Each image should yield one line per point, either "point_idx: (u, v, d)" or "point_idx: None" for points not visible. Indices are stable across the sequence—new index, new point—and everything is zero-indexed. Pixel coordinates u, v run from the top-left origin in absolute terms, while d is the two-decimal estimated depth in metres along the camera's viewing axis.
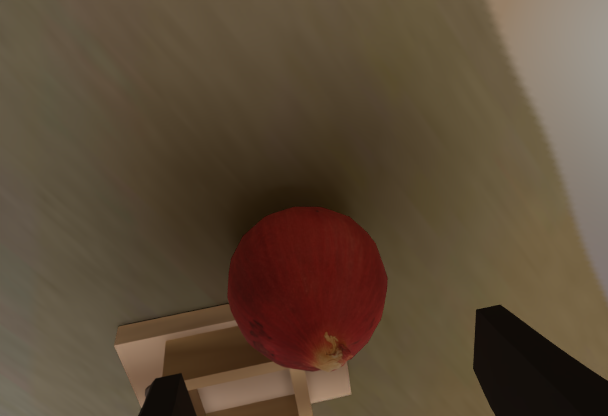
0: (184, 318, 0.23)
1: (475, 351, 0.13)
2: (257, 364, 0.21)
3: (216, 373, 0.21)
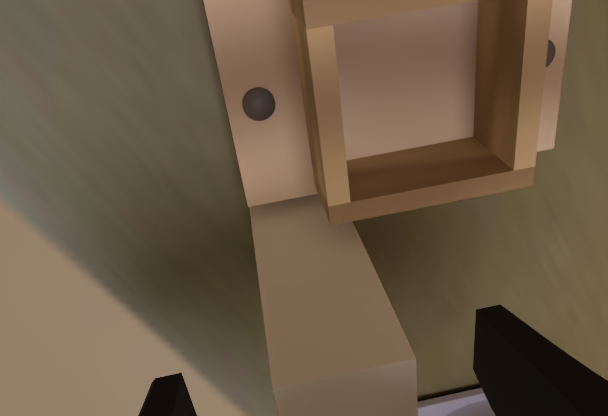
0: None
1: (475, 351, 0.13)
2: None
3: None
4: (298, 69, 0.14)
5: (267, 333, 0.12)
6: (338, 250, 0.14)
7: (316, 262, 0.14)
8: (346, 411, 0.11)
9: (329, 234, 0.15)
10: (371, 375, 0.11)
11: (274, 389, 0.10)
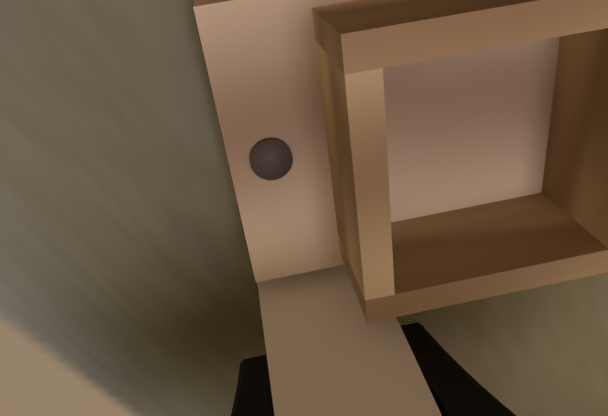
0: None
1: None
2: None
3: (484, 10, 0.08)
4: (323, 114, 0.11)
5: None
6: (377, 353, 0.11)
7: (348, 371, 0.11)
8: None
9: (361, 325, 0.12)
10: None
11: None
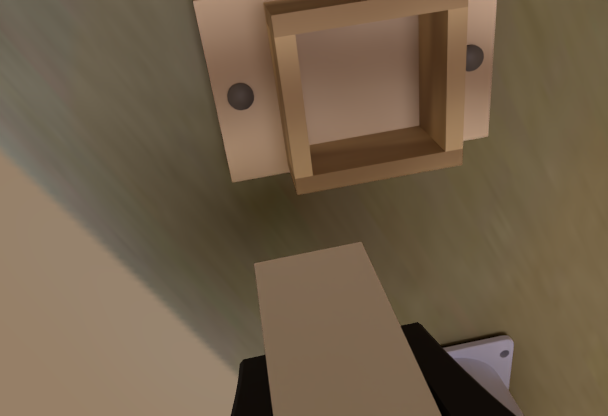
0: None
1: None
2: None
3: (349, 3, 0.14)
4: (272, 68, 0.17)
5: None
6: (373, 344, 0.11)
7: (345, 363, 0.11)
8: None
9: (358, 317, 0.12)
10: None
11: None
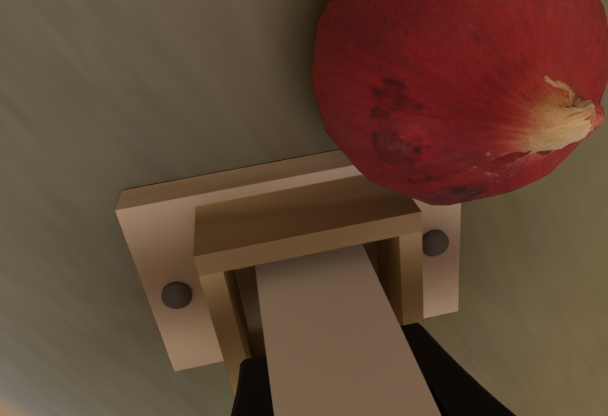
0: (222, 177, 0.15)
1: None
2: (350, 225, 0.13)
3: (283, 238, 0.13)
4: None
5: None
6: (373, 346, 0.11)
7: (346, 364, 0.11)
8: None
9: (358, 319, 0.12)
10: None
11: None
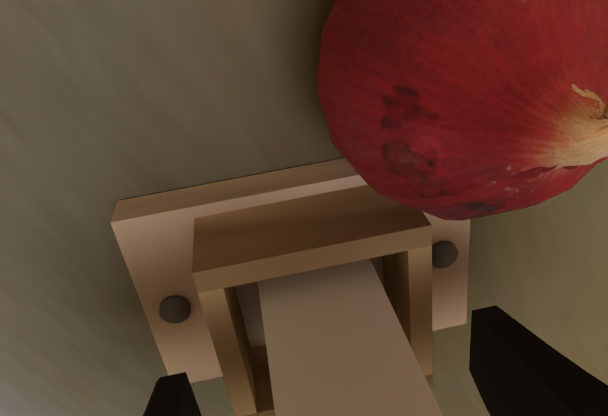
0: (222, 187, 0.15)
1: (471, 352, 0.13)
2: (356, 239, 0.12)
3: (286, 254, 0.12)
4: None
5: None
6: (365, 320, 0.12)
7: (338, 337, 0.11)
8: None
9: (351, 297, 0.12)
10: None
11: None
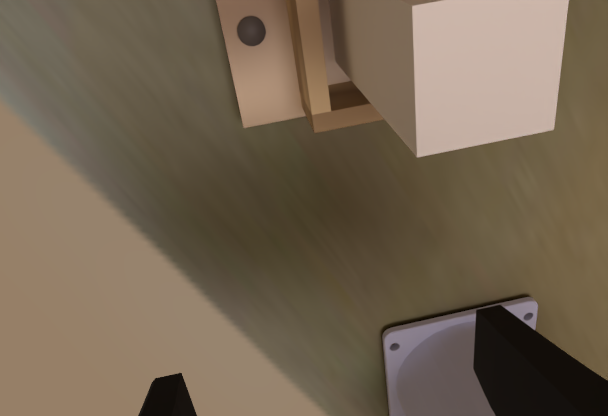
0: None
1: (475, 351, 0.13)
2: None
3: None
4: None
5: None
6: None
7: None
8: (486, 56, 0.10)
9: None
10: None
11: (414, 5, 0.09)
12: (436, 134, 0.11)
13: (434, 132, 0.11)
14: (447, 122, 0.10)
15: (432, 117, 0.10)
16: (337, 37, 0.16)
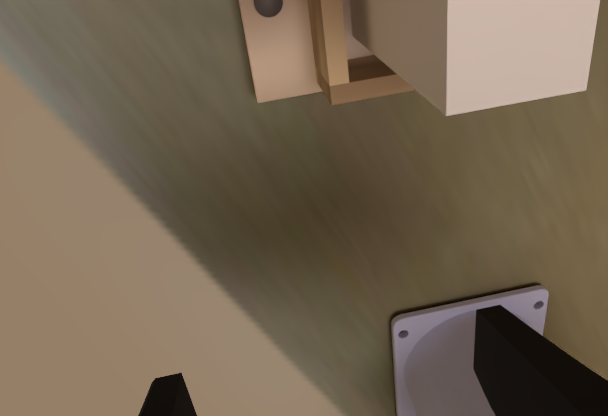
0: None
1: (475, 351, 0.13)
2: None
3: None
4: None
5: None
6: None
7: None
8: (521, 8, 0.10)
9: None
10: None
11: None
12: (467, 91, 0.10)
13: (465, 89, 0.10)
14: (478, 79, 0.10)
15: (463, 73, 0.10)
16: (355, 9, 0.16)
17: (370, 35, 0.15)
